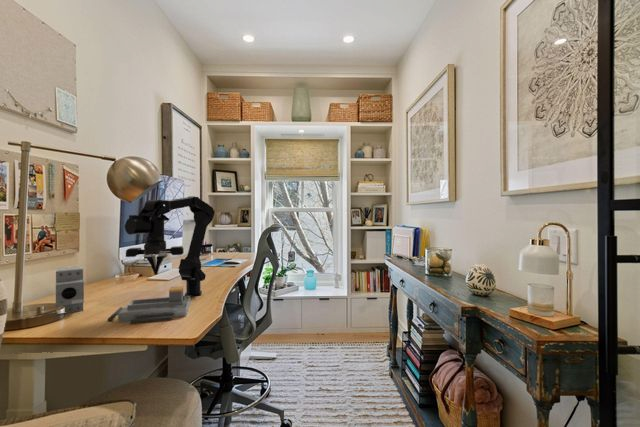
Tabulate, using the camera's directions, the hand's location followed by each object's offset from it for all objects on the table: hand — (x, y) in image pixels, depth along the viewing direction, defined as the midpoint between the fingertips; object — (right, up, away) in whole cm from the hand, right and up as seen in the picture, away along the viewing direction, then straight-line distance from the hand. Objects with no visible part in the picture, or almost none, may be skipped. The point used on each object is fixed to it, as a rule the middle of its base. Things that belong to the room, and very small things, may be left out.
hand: (155, 274), depth 117 cm
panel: (+4, -12, -7) cm, 15 cm away
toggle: (+10, -9, -5) cm, 14 cm away
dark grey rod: (-8, -12, -11) cm, 18 cm away
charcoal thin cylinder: (+8, -12, -17) cm, 22 cm away
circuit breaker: (-27, -12, -7) cm, 31 cm away
